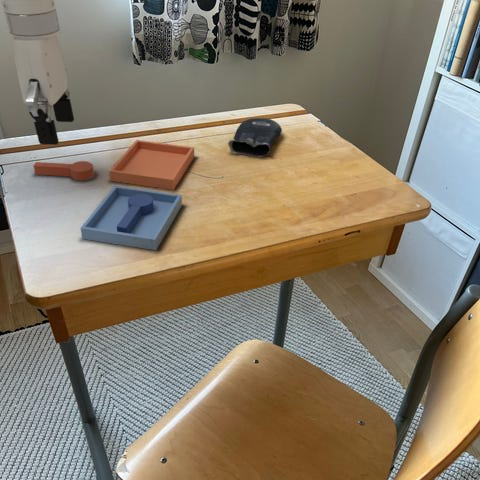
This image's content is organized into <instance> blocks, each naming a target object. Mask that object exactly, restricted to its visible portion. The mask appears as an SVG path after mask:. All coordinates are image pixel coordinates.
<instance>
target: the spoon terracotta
mask: <svg viewBox="0 0 480 480" xmlns="http://www.w3.org/2000/svg"><path fill="white" fill-rule="evenodd" d="M33 170H34V174H35V175H39V176H54V177H55V176H56V177H71V178H72V179H73V180H76V181H88V180H90V179H93V178H94V177H95V169H94V164H93V163H92V162H90V161H85V160H80V161H75V162H73V163H64V162H61V163H60V162H44V161H35V163H34V164H33Z"/></svg>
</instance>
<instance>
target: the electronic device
mask: <svg viewBox="0 0 480 480" xmlns="http://www.w3.org/2000/svg"><path fill="white" fill-rule="evenodd" d="M282 131H283V129H282V127H281V125H280V124H279V123H278V122H277V121H275V120H274V119H270V118H266V117H260V118H259V117H254V118H248V119H245V120H244V121H242V122H241V123H240V124H239V126H238V127H237V129H236V131H235V133H234V135H233V138H232V139H230V140H229V141H228V142H227V145H228V147H229V150H230V153H231V154H233V155H234V154H235V155H237V154H238V155H246V156H250V157H256V158H264V157H266V156H267V155H268V154H269V153H270V152H271V149H272V147H273V146H274V143H275V141H276V140H277V139H278V138H279V137H280V136H281V134H282Z"/></svg>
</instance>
